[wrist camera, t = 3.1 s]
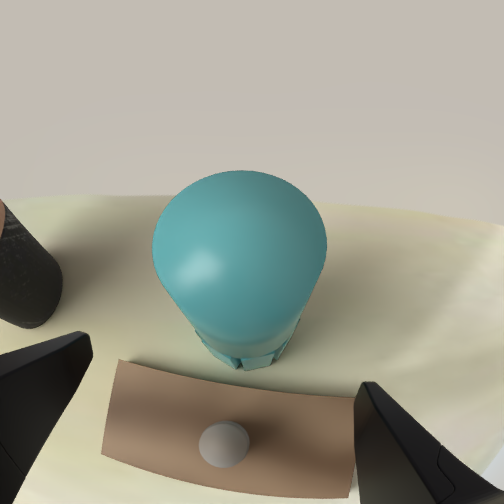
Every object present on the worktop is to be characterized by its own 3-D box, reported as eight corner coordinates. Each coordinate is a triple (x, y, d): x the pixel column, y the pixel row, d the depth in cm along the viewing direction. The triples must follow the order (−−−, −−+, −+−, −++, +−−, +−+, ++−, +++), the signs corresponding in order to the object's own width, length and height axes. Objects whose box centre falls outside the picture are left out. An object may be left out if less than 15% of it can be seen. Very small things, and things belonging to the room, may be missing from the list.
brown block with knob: (343, 493, 14) (364, 512, 11) (108, 452, 16) (76, 459, 12) (358, 398, 18) (383, 395, 14) (125, 361, 19) (96, 350, 15)
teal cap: (215, 377, 19) (162, 340, 8) (199, 299, 21) (148, 188, 11) (298, 357, 19) (352, 296, 9) (277, 282, 22) (295, 159, 11)
